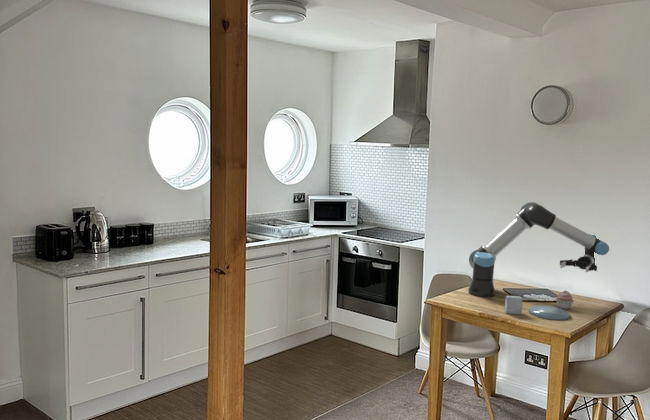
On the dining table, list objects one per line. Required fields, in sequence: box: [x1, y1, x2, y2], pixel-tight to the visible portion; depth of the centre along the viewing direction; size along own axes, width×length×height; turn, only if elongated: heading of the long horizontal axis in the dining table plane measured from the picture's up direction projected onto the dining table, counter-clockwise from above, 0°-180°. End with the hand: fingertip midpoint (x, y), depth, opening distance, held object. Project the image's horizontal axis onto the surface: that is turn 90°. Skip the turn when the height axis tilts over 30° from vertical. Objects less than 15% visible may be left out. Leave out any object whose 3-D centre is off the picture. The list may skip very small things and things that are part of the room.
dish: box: [528, 305, 570, 321], centre depth 317 cm, size 20×20×2 cm
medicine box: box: [504, 295, 523, 315], centre depth 316 cm, size 8×4×9 cm, turn 84°
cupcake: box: [555, 290, 575, 310], centre depth 329 cm, size 9×9×10 cm
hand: (573, 267), depth 335 cm, fingers open, 13 cm apart
